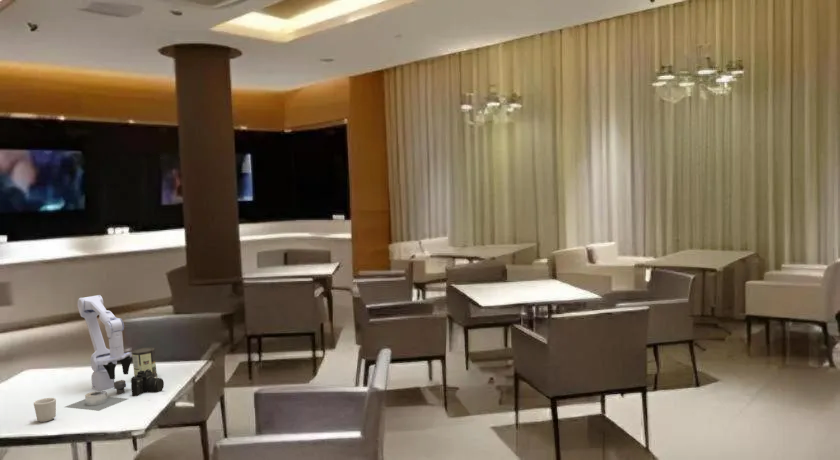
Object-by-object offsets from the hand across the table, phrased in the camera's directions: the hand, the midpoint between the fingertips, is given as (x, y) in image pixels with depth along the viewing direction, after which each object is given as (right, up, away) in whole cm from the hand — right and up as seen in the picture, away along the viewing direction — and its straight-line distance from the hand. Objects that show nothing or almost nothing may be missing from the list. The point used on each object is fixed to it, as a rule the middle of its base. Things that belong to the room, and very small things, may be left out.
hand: (119, 376), depth 317 cm
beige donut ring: (-4, -9, -13) cm, 16 cm away
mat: (-4, -10, -13) cm, 16 cm away
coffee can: (+2, -7, +26) cm, 27 cm away
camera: (+13, -8, 0) cm, 15 cm away
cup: (-17, -12, -28) cm, 34 cm away
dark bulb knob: (0, -8, +1) cm, 8 cm away
